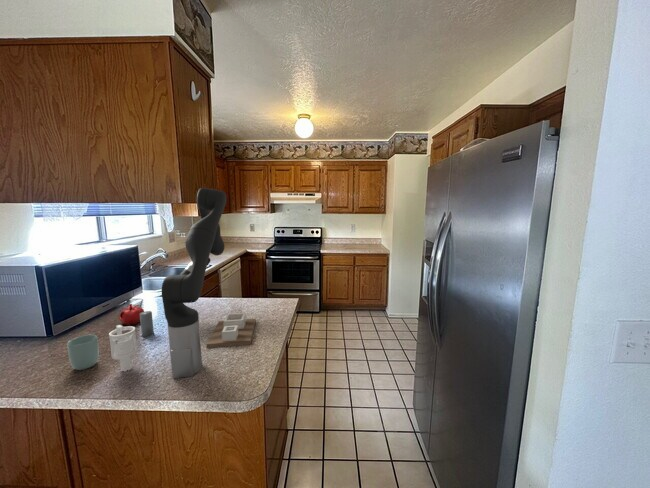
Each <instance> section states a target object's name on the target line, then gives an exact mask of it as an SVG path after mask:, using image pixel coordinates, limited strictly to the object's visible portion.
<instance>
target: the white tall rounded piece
mask: <svg viewBox="0 0 650 488" xmlns="http://www.w3.org/2000/svg"><path fill="white" fill-rule="evenodd" d="M115 327H116V328H115V329H113V330H112V331H110V332H109V333H108V336H109V344H110V355H111V359H112V360H115V361H116V360H118V361H119V365H120V370H121V372H123V371H124V372H128V371H130V370H131V369H133V364H132V363H133V362H132V357H133V356H134V355H136V354H137V353H138V345H137V336H136V327H135V326H131V325H127V326H123V325H122V324H117V325H116V326H115ZM123 331H128V332H126V333H123ZM116 341H117V342H116ZM127 370H128V371H127Z"/></svg>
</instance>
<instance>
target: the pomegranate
mask: <svg viewBox="0 0 650 488" xmlns="http://www.w3.org/2000/svg"><path fill="white" fill-rule="evenodd" d="M126 307H127V308H122V309H121V312H120V314H119V316H118V317H119V321H120V322H121V324H122V325H127V326H131V325H135V324H138V323H139V322H140V313H142V312H145V310H144V309H143V308H141V307H140V305H138V304H137V305H135V304H132V303H130V304H129V305H127V306H126Z"/></svg>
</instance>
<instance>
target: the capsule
mask: <svg viewBox="0 0 650 488" xmlns="http://www.w3.org/2000/svg"><path fill="white" fill-rule="evenodd" d="M153 321H154V320H153V312H152V311H151V310H148V311H147V310H146V311H145V310H144V312H142V313H140V321H139V322H140V330H141V331H140V332H141V337H142V338H149V337H152V336H154V334H155V331H154V322H153Z"/></svg>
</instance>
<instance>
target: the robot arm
mask: <svg viewBox="0 0 650 488" xmlns="http://www.w3.org/2000/svg"><path fill="white" fill-rule="evenodd" d="M226 204H227V194H226V193H225V191H222V190H220V189H214V188H208V187H201V188H199V189H198V191H197V195H196V205H197V209H198V212H199V215H200V219H199V220H198V221H196V222H195V223H193V225H191V227H190V228H189V231H188V234H187V236H186V239H185V243H184V245H185V248H186V249H185V250H186V251H187V254H188V255H189V257H190V260H191V261H190V262H188V264H186V266H185V268H184V269H183V270H182V271H181V272H180V274H169V275H168V276H166V277H165V278H164V279H163V282H162V284H161V298H162V299H161V300H162V304H163V311H164V312H163V313H164V317H165V320H166V322H167V332H168V347H169V354H170V365H171V374H172V379H178V378H190V377H193V376H194V375H195V374H197V373H198V372H200V371H201V369H202V368H203V360H202V358H203V356H202V348H201V347H202V344H201V333H200V318H199V312H198V311H197V310H196V309H195V308H193V307H189V306H188V305H186V304H190V303H191V304H193V303H195V302H197V301H198V300H199V299H200V297H201V294H202V290H203V286H204V281H205V277H206V269H207V267H208V265H209V264H210V263H211V258H210V255H214V256H221V255H222V254H223V253H224V251H225V243H224V241H223V237H222V236H221V225H220V224H219V223H220V220H221V218H222V214H223V213H224V210H225V208H226Z"/></svg>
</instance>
